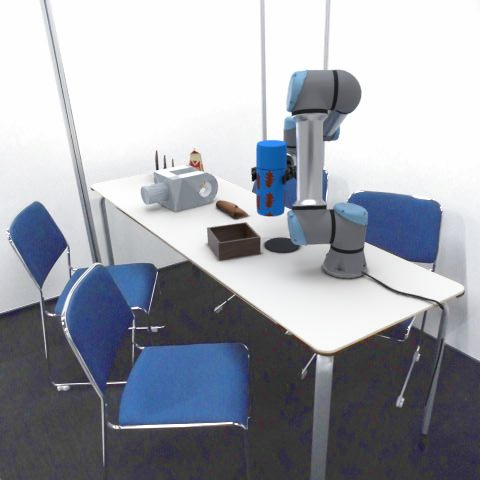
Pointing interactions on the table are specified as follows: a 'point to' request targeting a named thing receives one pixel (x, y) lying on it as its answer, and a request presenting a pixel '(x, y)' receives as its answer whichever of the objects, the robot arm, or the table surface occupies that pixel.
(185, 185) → the grey clevis bracket
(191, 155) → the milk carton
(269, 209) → the thermos
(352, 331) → the table surface
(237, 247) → the box
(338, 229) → the robot arm
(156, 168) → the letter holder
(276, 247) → the mat
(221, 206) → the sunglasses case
